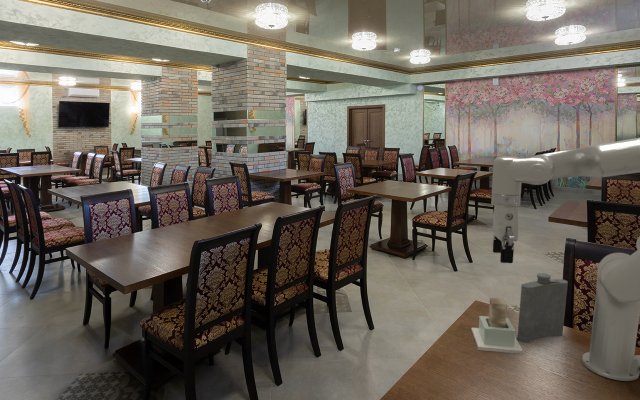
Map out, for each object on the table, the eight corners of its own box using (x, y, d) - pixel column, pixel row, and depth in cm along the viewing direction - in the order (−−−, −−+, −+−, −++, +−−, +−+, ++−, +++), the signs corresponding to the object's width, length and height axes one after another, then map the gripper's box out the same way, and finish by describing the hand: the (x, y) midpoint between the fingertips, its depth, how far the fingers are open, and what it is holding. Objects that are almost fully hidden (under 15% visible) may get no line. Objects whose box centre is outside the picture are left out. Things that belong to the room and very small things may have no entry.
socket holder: (511, 333, 128) (512, 315, 127) (522, 354, 116) (524, 334, 115) (471, 330, 130) (472, 312, 129) (478, 350, 118) (479, 330, 117)
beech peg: (501, 335, 124) (504, 299, 122) (504, 342, 121) (507, 304, 118) (487, 334, 125) (489, 298, 123) (489, 341, 121) (492, 303, 119)
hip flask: (522, 343, 122) (527, 280, 119) (512, 336, 126) (517, 275, 123) (564, 335, 126) (571, 274, 123) (554, 329, 130) (560, 270, 127)
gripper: (529, 205, 106) (524, 267, 109) (511, 195, 123) (508, 249, 126) (498, 205, 108) (495, 266, 111) (485, 195, 125) (483, 248, 127)
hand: (502, 257), depth 118 cm, fingers open, 9 cm apart
